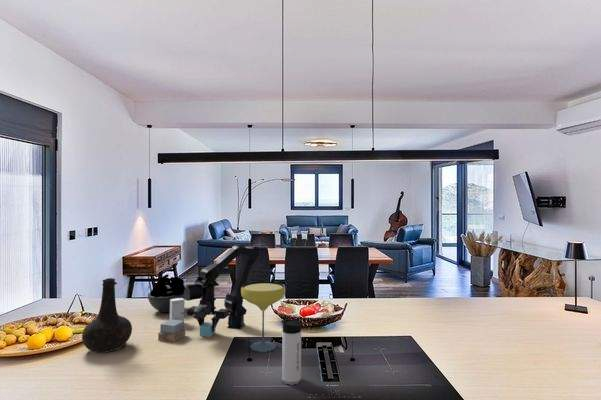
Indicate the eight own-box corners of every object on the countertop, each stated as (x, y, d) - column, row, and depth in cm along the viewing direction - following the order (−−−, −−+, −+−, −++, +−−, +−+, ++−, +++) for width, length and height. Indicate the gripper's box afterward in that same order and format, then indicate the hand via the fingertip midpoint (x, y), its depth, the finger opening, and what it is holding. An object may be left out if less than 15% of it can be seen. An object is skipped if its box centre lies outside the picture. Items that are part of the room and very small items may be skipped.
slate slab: (184, 328, 162) (184, 320, 162) (174, 334, 156) (174, 325, 156) (170, 327, 164) (170, 319, 164) (160, 332, 158) (160, 324, 158)
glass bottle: (80, 361, 136) (81, 285, 136) (83, 344, 152) (84, 276, 152) (133, 352, 144) (133, 281, 144) (130, 337, 160) (131, 273, 160)
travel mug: (280, 376, 125) (281, 317, 125) (300, 375, 125) (300, 317, 125) (281, 385, 118) (281, 324, 119) (301, 385, 119) (302, 323, 119)
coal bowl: (179, 317, 188) (179, 280, 188) (140, 316, 188) (141, 280, 188) (191, 306, 208) (191, 273, 208) (156, 305, 208) (156, 272, 208)
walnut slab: (185, 336, 162) (185, 328, 162) (174, 343, 155) (174, 334, 155) (169, 334, 164) (169, 327, 164) (158, 341, 157) (158, 333, 157)
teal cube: (215, 332, 166) (215, 322, 166) (209, 336, 161) (210, 326, 161) (205, 331, 167) (205, 321, 167) (199, 335, 162) (199, 325, 162)
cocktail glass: (291, 342, 156) (291, 283, 156) (274, 359, 138) (275, 293, 139) (253, 336, 161) (253, 280, 162) (232, 352, 144) (232, 289, 144)
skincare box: (171, 326, 174) (171, 301, 174) (169, 324, 177) (169, 299, 177) (184, 324, 177) (184, 299, 177) (182, 321, 181) (182, 297, 181)
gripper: (179, 299, 159) (179, 335, 159) (218, 303, 154) (218, 340, 154) (193, 293, 170) (192, 327, 169) (230, 296, 165) (229, 331, 165)
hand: (207, 331), depth 164 cm, fingers closed on teal cube, 5 cm apart
